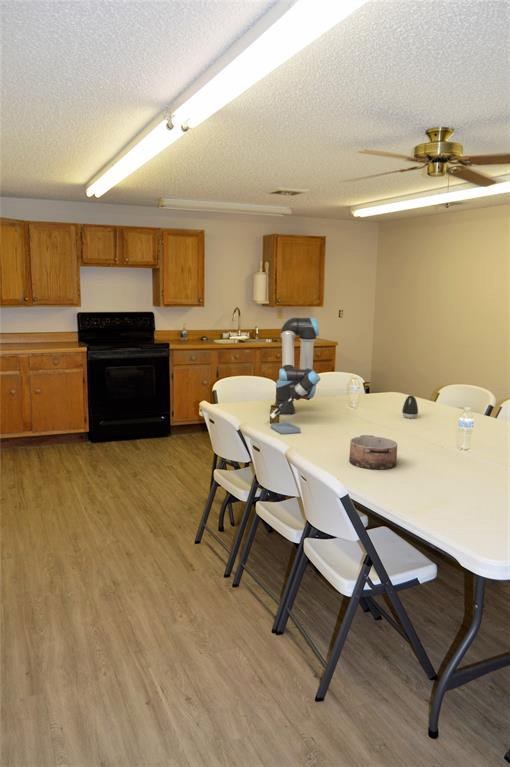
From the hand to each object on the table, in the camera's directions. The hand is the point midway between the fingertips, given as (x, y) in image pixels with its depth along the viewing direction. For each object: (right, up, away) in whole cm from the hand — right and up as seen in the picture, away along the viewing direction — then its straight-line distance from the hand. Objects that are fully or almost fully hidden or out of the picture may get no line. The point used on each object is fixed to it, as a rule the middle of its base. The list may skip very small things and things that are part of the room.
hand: (273, 414), depth 357 cm
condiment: (0, -6, +2) cm, 7 cm away
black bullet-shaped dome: (+92, -4, +30) cm, 97 cm away
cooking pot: (+46, -20, -75) cm, 90 cm away
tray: (+7, -9, -15) cm, 18 cm away
